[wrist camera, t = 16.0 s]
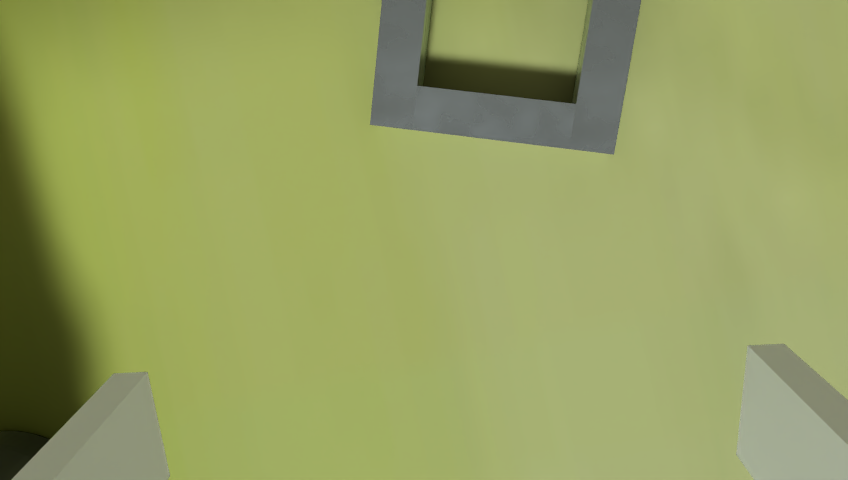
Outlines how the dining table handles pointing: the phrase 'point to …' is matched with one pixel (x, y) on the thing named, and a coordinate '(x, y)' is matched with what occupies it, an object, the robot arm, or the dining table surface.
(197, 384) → the dining table surface
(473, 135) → the metal collar
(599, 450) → the dining table surface
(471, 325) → the dining table surface
